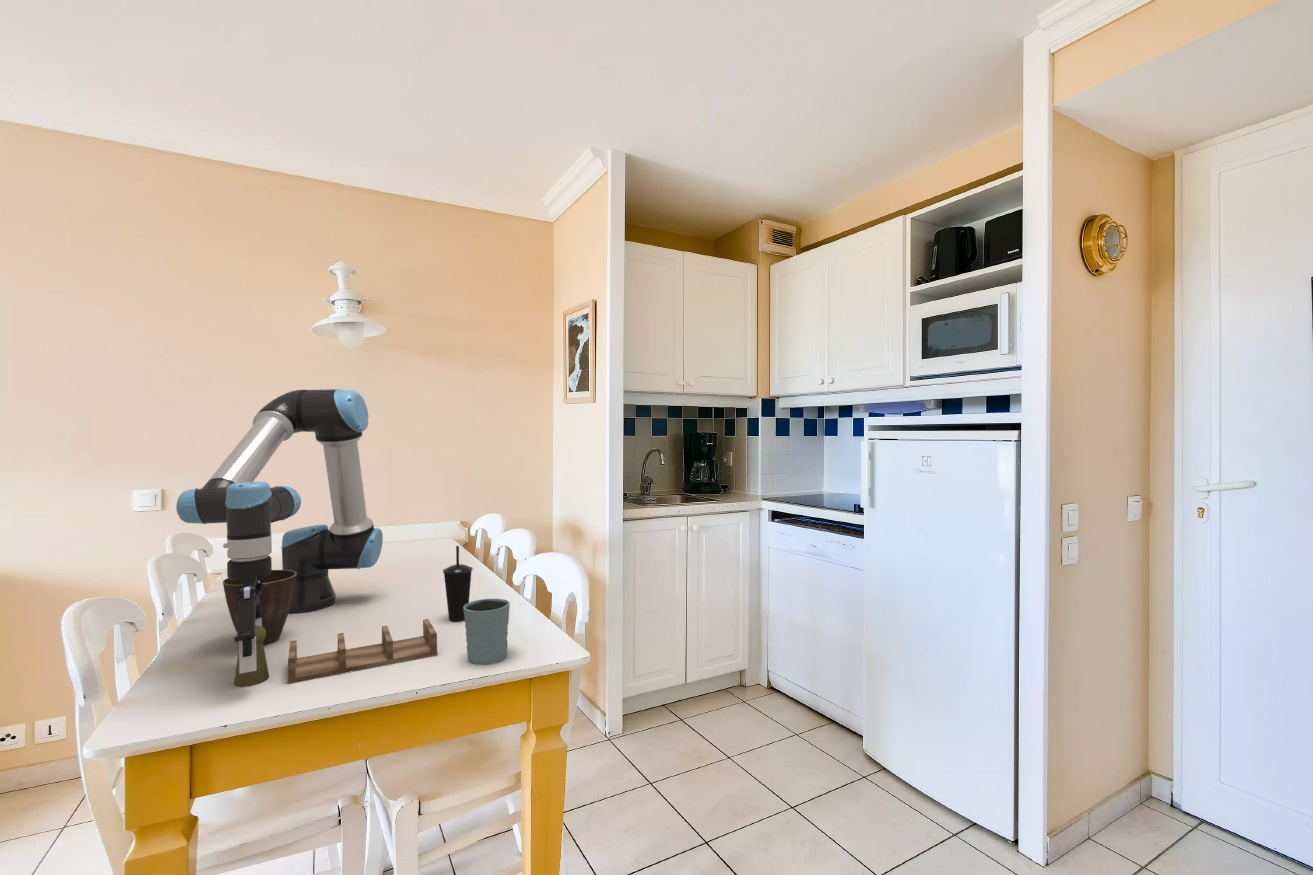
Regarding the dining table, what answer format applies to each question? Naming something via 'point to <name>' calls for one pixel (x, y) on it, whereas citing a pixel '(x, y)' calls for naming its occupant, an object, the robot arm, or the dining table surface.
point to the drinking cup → (457, 588)
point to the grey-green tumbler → (486, 630)
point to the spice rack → (361, 655)
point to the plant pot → (266, 601)
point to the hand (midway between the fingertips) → (251, 659)
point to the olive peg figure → (261, 663)
